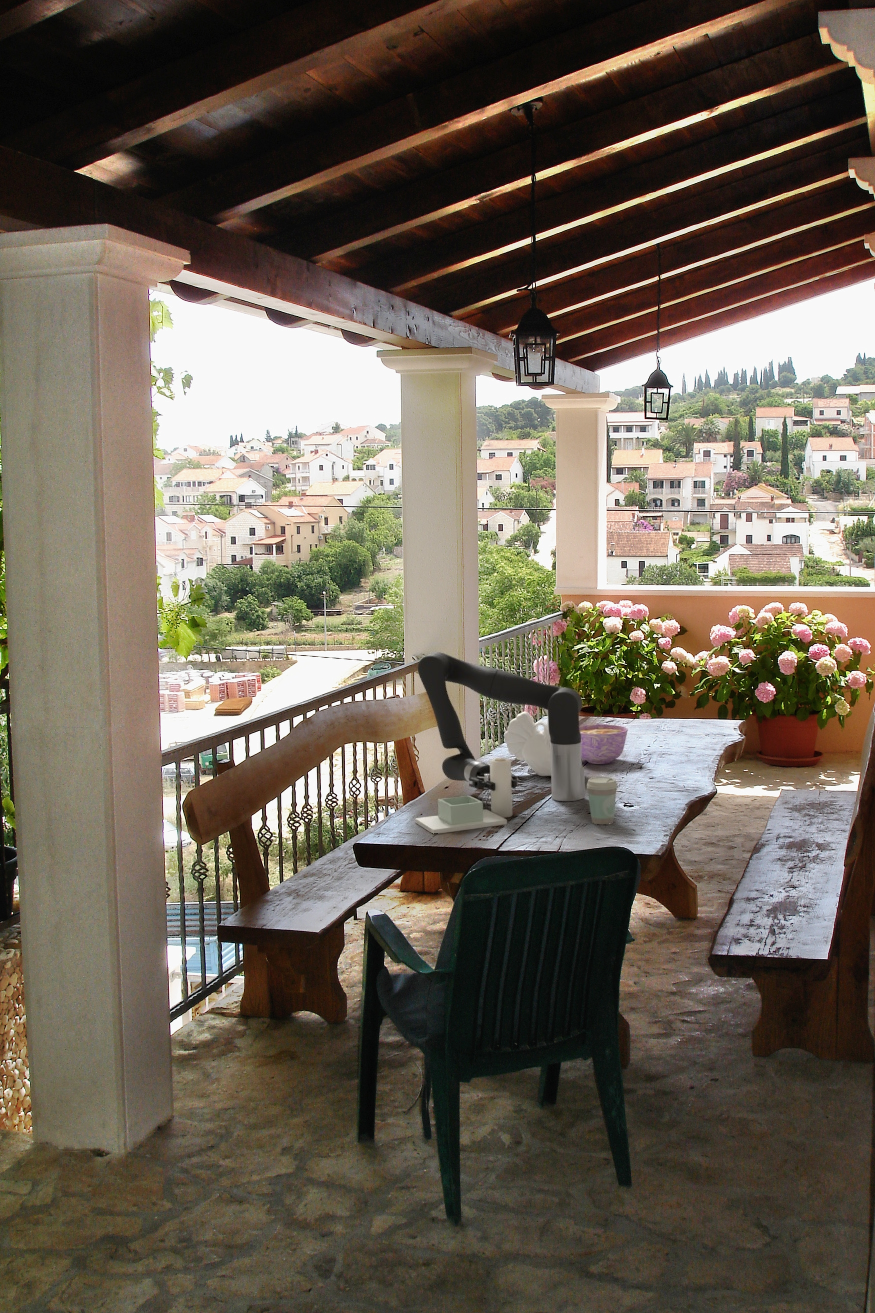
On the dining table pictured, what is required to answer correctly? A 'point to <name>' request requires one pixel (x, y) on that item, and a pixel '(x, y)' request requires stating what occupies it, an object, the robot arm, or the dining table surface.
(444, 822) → the roll caddy
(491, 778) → the paper roll
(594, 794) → the coffee cup
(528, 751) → the decorative rooster
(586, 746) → the bowl of food
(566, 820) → the dining table surface
